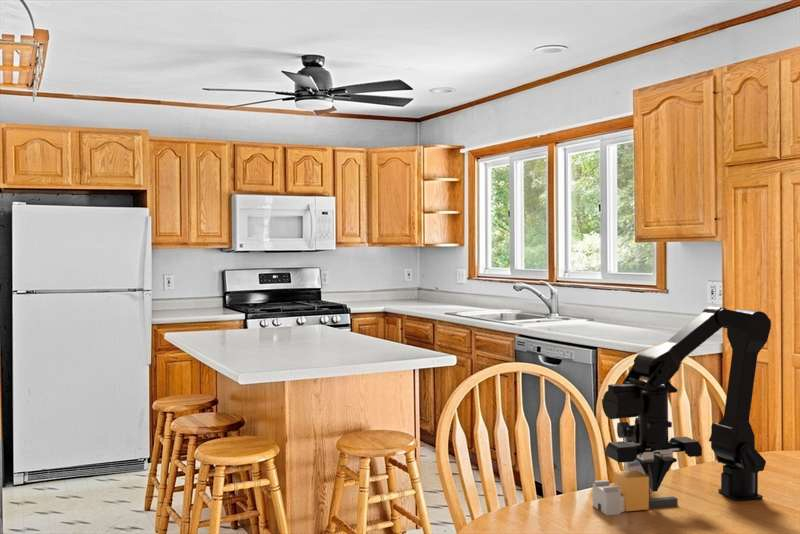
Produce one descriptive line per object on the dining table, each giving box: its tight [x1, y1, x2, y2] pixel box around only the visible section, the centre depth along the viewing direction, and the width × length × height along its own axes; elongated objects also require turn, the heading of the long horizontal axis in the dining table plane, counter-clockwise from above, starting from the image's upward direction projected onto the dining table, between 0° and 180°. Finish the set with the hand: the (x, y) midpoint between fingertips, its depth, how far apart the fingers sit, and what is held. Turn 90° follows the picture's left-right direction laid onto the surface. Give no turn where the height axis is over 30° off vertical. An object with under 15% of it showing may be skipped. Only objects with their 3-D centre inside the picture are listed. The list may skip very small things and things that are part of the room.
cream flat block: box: [621, 495, 625, 513], centre depth 155 cm, size 1×4×3 cm, turn 12°
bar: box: [597, 496, 679, 512], centre depth 156 cm, size 17×1×1 cm, turn 102°
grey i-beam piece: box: [592, 479, 622, 517], centre depth 155 cm, size 3×6×5 cm, turn 12°
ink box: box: [623, 438, 651, 493], centre depth 170 cm, size 9×5×12 cm, turn 168°
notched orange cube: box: [613, 470, 650, 512], centre depth 156 cm, size 5×5×7 cm
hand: (654, 490), depth 157 cm, fingers closed
